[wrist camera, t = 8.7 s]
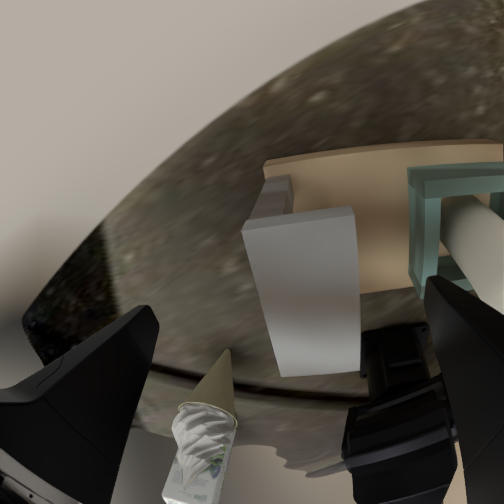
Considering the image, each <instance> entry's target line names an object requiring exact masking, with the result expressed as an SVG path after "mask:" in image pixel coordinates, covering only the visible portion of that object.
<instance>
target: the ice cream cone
mask: <svg viewBox="0 0 504 504" xmlns="http://www.w3.org/2000/svg"><path fill="white" fill-rule="evenodd" d="M178 412H179V414H178V415H176V418H175V419H174V421H173V424H172V428H171V429H172V431H173V434H174V437H175V439H176V441H177V444H178V447H179V451H178V453H177V456H176V457H177V459H178V461H179V464H180V467H181V475H182V482H183V490H184V491H185V490H186V488H187V487H188V486H189V485H190V484H191V483H192V482H193V481H194V480H195V479H196V477H197V476H198V475H199V474H200V473H201V472H202V471H203V470H204V469H206V468H207V467H208V466H209V465H211V461H210V459H211V457H213V456H214V455H217V454H220V453H223V452H224V450H223V449H222V448H221V447H222V446H226V445H230V444H231V440H230V439H228V438H226V435H227V434H230V433H233V432H234V429H235V428H236V427H237V420H236V417H235V405H234V391H233V378H232V365H231V351H230V349H226V350H225V351H224V352H223V354H222V355H221V356H220V357H219V359H218V360H217V361H216V363H215V364H214V365H213V366H212V368H211V369H210V370H209V371H208V373H207V374H206V375H205V376H204V378H203V379H202V380H201V382H200V383H199V384H198V385H197V387H196V388H195V389H194V391H193V392H192V393H191V394H190V396H189V397H188V398H187V399H186V400H185V402H184V403H182V404H181V405H180V406H179V407H178Z"/></svg>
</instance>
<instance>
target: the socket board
mask: <svg viewBox="0 0 504 504" xmlns="http://www.w3.org/2000/svg"><path fill="white" fill-rule="evenodd" d="M263 170H264V175H265V179H266V181H265V183H264V186H263V188H262V190H261V192H260V195H259V197H258V199H257V201H256V204H255V206H254V208H253V210H252V213H251V215H250V217H249V220H246V221H245V224H244V226H243V228H242V230H241V233H242V236H243V240H244V244H245V247H246V251H247V255H248V258H249V262H250V266H251V269H252V273H253V277H254V280H255V284H256V288H257V291H258V295H259V299H260V302H261V306H262V309H263V313H264V317H265V320H266V324H267V328H268V331H269V335H270V338H271V342H272V346H273V349H274V353H275V356H276V360H277V364H278V367H279V371H280V374H281V377H291V376H307V375H320V374H332V373H342V372H351V371H359V370H360V294H363V293H370V292H378V291H385V290H392V289H398V288H405V287H411V286H414V287H415V289H416V292H417V294H418V296H419V298H420V299H424V293H425V284H426V279H427V277H428V276H432V275H441V276H443V277H444V278H446V279H448V280H449V281H451V282H453V283H454V284H456V285H458V286H459V287H461V288H463V289H464V290H466V291H468V290H473V289H474V288H473V287H472V285H471V284H470V282H469V281H468V279H467V278H466V276H465V275H464V273H463V272H462V270H461V269H460V267H459V266H458V264H457V263H456V262H455V260H454V259H453V257H452V256H451V255H450V253H449V252H448V250H447V249H446V248H445V246H444V245H443V244H442V242H441V241H440V220H441V202H442V200H443V199H444V198H446V197H451V196H461V195H473V196H475V197H476V198H477V199H478V200H480V201H481V202H482V203H483V204H485V205H486V206H487V207H488V208H490V209H491V210H492V211H493V212H494V213H496V214H497V215H498V216H499V217H500V218H501V219H503V220H504V163H503V144H501V143H498V142H496V141H493V140H490V139H449V140H428V141H412V142H399V143H388V144H377V145H368V146H359V147H350V148H342V149H335V150H327V151H320V152H314V153H307V154H301V155H295V156H289V157H283V158H277V159H271V160H267V161H266V162H265V164H264V166H263Z"/></svg>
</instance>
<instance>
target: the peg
mask: <svg viewBox="0 0 504 504" xmlns="http://www.w3.org/2000/svg"><path fill="white" fill-rule="evenodd" d="M440 241H441V242H442V244H443V245H444V246H445V248H446V249H447V250H448V252H449V253H450V255H451V256H452V257H453V259H454V260H455V262H456V263H457V264H458V266H459V267H460V269H461V270H462V272H463V273H464V275H465V276H466V278H467V279H468V281H469V282H470V284H471V285H472V287H473V288H474V290H475V291H476V293H477V294H478V296H479V298H480V299H481V300H482V301H483V302H485V303H487V304H488V305H490V306H491V307H493V308H494V309H496V310H497V311H499V312H500V313H502V314H503V315H504V220H503V219H501V218H500V217H499V216H498V215H497V214H496V213H494V212H493V211H492V210H491V209H490V208H488V207H487V206H486V205H485V204H483V203H482V202H481V201H480V200H478V199H477V198H476V197H475V196H473V195H461V196H451V197H446V198H444V199H443V200H442V202H441V220H440Z"/></svg>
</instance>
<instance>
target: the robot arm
mask: <svg viewBox="0 0 504 504" xmlns="http://www.w3.org/2000/svg"><path fill="white" fill-rule="evenodd" d="M424 307H425V311H426V315H427V319H428V323H429V327H430V332H431V336H432V341H433V345H434V349H435V353H436V356H437V359H438V362H439V365H440V369H441V373H439V375H437V376H435V377H433V378H431V376H430V372H429V369H428V365H427V362H426V359H425V356H424V349H425V345H426V340H427V335H428V330H429V327H428V325H427V323H420V324H414V325H409V326H403V327H396V328H390V329H383V330H376V331H369V332H364V333H362V335H361V354H360V377H361V378H363V379H365V378H367V380H368V389H369V398H370V402H369V403H366V404H363V405H360V406H357V407H356V406H354V407H351V408H349V411H348V416H347V420H346V426H345V432H344V437H343V443H342V453H341V457H342V459H343V460H344V461H345V464H346V467H347V469H348V471H349V472H350V473H351V474H352V479H353V497H354V500H355V501H356V503H357V504H443V499H444V497H445V495H446V493H447V490H448V488H449V486H450V484H451V481H452V479H453V476H454V474H455V471H456V469H457V465H458V464H457V454H456V449H455V444H454V443H456V442H458V441H459V446H460V451H461V457H462V462H463V469H465V470H464V478H465V486H466V496H467V504H504V315H503V314H502V313H500V312H499V311H497V310H496V309H494V308H493V307H491V306H490V305H488V304H487V303H485V302H483V301H482V300H480V299H479V298H477V297H476V296H474V295H472V294H471V293H469V292H468V291H466V290H464V289H463V288H461V287H459V286H458V285H456V284H454V283H453V282H451V281H449V280H448V279H446V278H444V277H443V276H441V275H432V276H428V277H427V279H426V284H425V293H424ZM158 333H159V322H158V320H157V318H156V316H155V314H154V312H153V310H152V308H151V307H150V306H149V305H139V306H137V307H135V308H134V309H132V310H131V311H129V312H127V313H126V314H124V315H123V316H121V317H120V318H118V319H117V320H115V321H114V322H112V323H111V324H109V325H108V326H106V327H105V328H103V329H102V330H100V331H99V332H97V333H96V334H94V335H93V336H91V337H90V338H88V339H87V340H85V341H84V342H82V343H81V344H79V345H78V346H76V347H75V348H73V349H72V350H70V351H69V352H67V353H66V354H65V355H63V356H61V357H60V358H58V359H57V360H55V361H54V362H52V363H50V364H49V365H47V366H46V367H44V368H43V369H41V370H40V371H38V372H36V373H35V374H33V375H31V376H29V377H28V378H26V379H24V380H23V381H21V382H19V383H18V384H16V385H14V386H12V387H9V388H5V389H0V504H79V503H82V504H110V502H111V498H112V494H113V490H114V486H115V482H116V479H117V475H118V471H119V468H120V463H121V460H122V456H123V453H124V449H125V446H126V442H127V439H128V435H129V432H130V429H131V425H132V422H133V419H134V416H135V412H136V409H137V406H138V403H139V400H140V397H141V393H142V390H143V387H144V384H145V381H146V378H147V375H148V372H149V369H150V366H151V362H152V358H153V354H154V350H155V345H156V341H157V337H158ZM365 337H367V338H365Z"/></svg>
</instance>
